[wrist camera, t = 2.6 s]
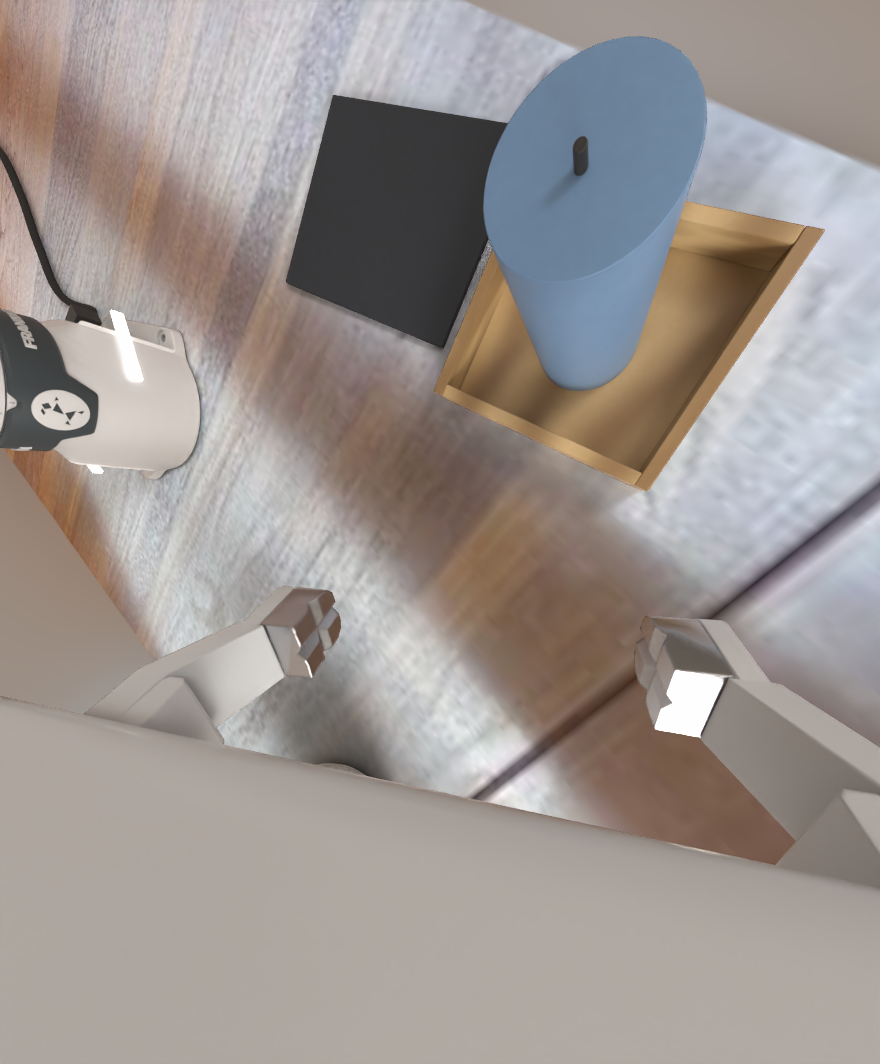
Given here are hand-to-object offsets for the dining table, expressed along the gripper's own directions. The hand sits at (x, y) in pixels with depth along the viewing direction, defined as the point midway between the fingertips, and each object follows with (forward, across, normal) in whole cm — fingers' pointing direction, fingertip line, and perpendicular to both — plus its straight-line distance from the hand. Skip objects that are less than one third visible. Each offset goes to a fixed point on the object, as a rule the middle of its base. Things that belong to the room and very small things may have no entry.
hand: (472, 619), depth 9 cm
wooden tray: (+21, -5, -6) cm, 22 cm away
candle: (+20, -5, -6) cm, 22 cm away
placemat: (+27, +10, -16) cm, 33 cm away
